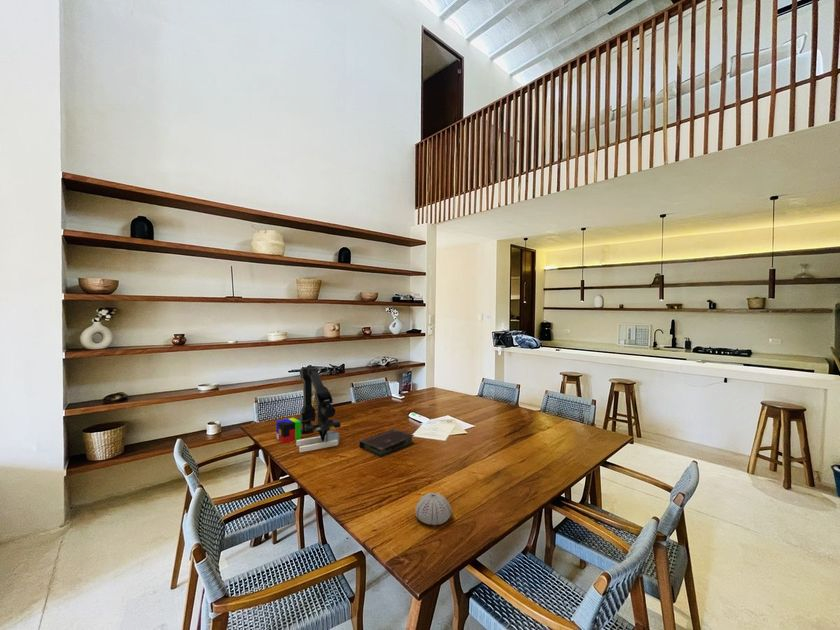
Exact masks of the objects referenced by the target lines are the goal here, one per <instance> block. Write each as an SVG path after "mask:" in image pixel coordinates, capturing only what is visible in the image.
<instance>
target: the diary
mask: <svg viewBox="0 0 840 630" xmlns="http://www.w3.org/2000/svg"><path fill="white" fill-rule="evenodd" d="M413 437H415V435H414V434H412V433H409V432H405V431H402V430H398V429H394V428H392V429H390V430H387V431H385V432H382V433H378V434H375V435H373V436H371V437H368V438H364V439H361V440H359V442H358V443H359V445H358V446H359V449H362V450H363V449H364V450H366V451H368V452H369V453H370V454H372V455H374V456H376V457H378V458H383V457H385V456H388V455H391V454H393V453H395V452H397V451H400V450H401V449H403V448H405V447H409V446H411V445H413V444H415V442H413Z"/></svg>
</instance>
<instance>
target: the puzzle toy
mask: <svg viewBox="0 0 840 630" xmlns="http://www.w3.org/2000/svg"><path fill="white" fill-rule="evenodd" d="M301 430H302V424H301V421H299V420H298V418H295V417H289V418H285V419H282V420H277V421H276V430H275V431H276V439H277V440H278V441H280V442H281V443H283V444H287V443H289V442H293V441H296V440H301V439H302V432H301Z"/></svg>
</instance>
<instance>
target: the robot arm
mask: <svg viewBox="0 0 840 630" xmlns="http://www.w3.org/2000/svg"><path fill="white" fill-rule="evenodd" d="M299 376H300V378H301V380H302V382H303V406H302V408H301V409H300V414H299V416H298V418H297V420H299V421H301V435H302V434H303V435H304V434H308V433H310V434H311V433H314V430H315V431H316V432H317V433H318V434H319V436H320V437H321V440H322V442H325V441H324V438H325V435H326V433H327V432H329V431H330V430H331V428H332V427H334V428H336V429H338V428H341V422H340V420H339V419H329V418H333V417H334V416H335V415H336V409H335V407H333V405H332V404H333V400H334V399H333V397H332V394H331V392H330V391H329V389H328V388H327V386H325V385H324V383H323V381H322V379H321V376H320V375H319V372H318V368H317V367H314V366H305V367H304V366H303V367H301V368H300V369H299ZM312 385H313V386H312ZM312 388H314V390H315V392H314V399H315V402H316V405H317V408H316V409H317V412H316V409H315V407H314V405H313V391H312V390H313V389H312ZM316 417H317V418H316ZM316 420H317V421H316ZM315 421H316V422H317V423H316V424H313V422H315Z"/></svg>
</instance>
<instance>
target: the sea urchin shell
mask: <svg viewBox="0 0 840 630" xmlns="http://www.w3.org/2000/svg"><path fill="white" fill-rule="evenodd" d="M451 507H452V506H451V504H450V503H449V500H447V499H446V497H445V496H444V495H442V494H440V493H438V492H429V493H425V494H424V495H423V496H421V498H420V499H419V500H418V501H417V503H416V505H415V507H414V508H415V509H414V510H415V511H414V514H415V517H416V518H417V519H418V520H419V521H421V523H424V524H427V525H432V526H438V525H443V524H444V523H446V522H447V521H448V519H450V517H451V516H452V508H451Z"/></svg>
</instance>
